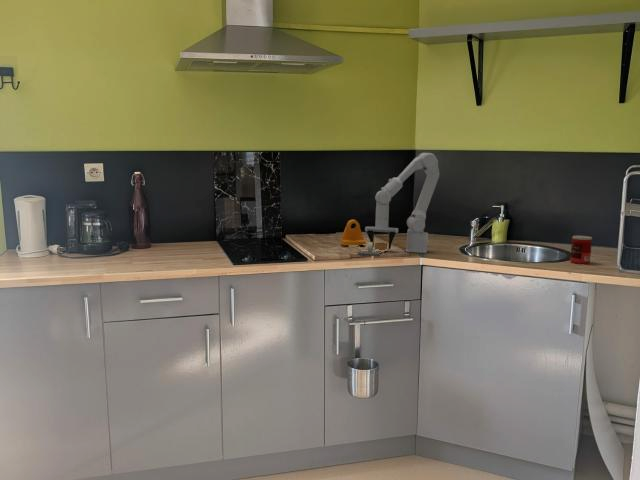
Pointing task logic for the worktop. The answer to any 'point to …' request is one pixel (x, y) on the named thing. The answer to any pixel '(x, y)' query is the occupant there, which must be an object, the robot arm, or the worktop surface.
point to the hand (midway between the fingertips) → (380, 248)
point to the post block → (369, 251)
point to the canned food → (581, 249)
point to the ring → (381, 246)
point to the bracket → (352, 234)
